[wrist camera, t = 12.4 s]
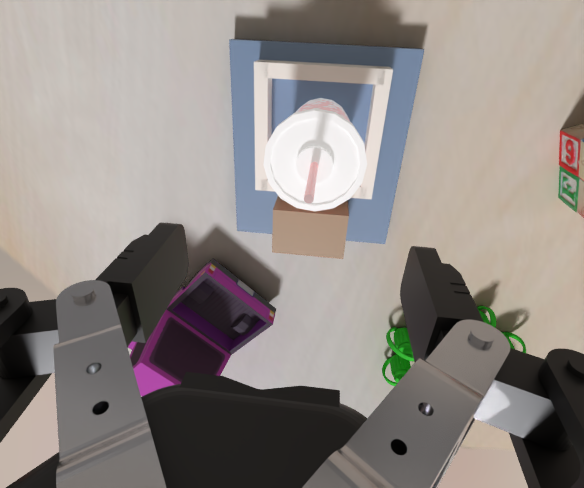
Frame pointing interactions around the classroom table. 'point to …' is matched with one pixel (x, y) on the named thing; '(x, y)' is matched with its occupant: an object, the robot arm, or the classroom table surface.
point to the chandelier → (405, 353)
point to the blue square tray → (361, 112)
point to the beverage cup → (315, 157)
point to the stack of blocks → (572, 168)
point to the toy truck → (200, 329)
